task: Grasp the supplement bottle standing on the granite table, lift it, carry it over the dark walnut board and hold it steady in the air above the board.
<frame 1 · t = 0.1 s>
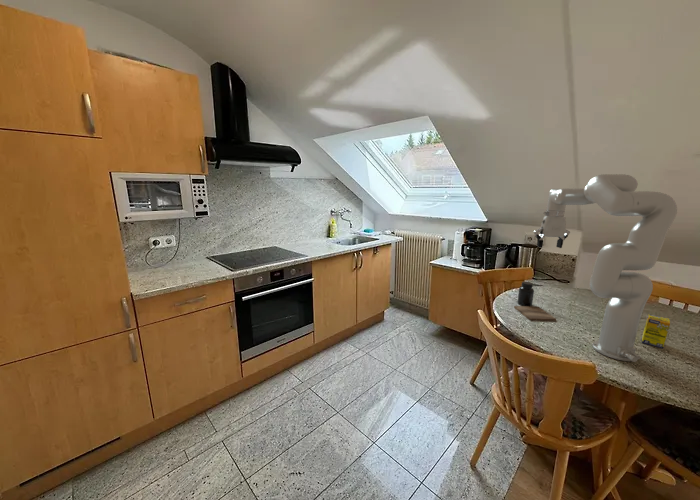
hand: (549, 247, 144), 31 cm above the table, tool pointing down, fingers open, 9 cm apart
walnut board: (533, 314, 139), on the table
supplement bottle: (524, 304, 150), on the table
supplement box: (652, 343, 113), on the table
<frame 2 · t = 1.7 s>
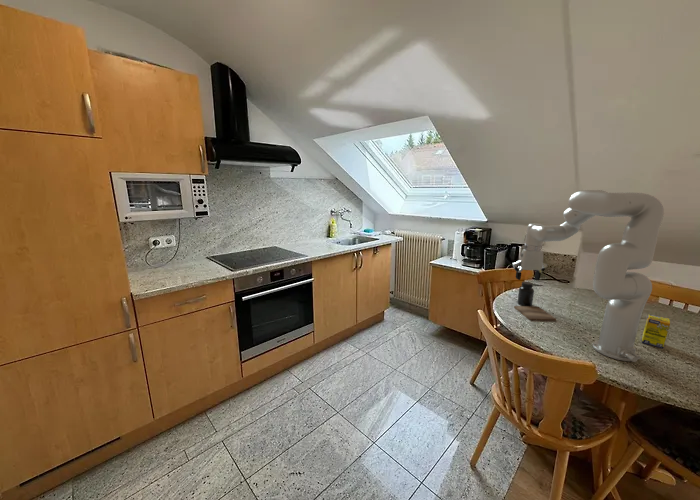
hand: (527, 279, 148), 14 cm above the table, tool pointing down, fingers open, 9 cm apart
nothing on the table moved.
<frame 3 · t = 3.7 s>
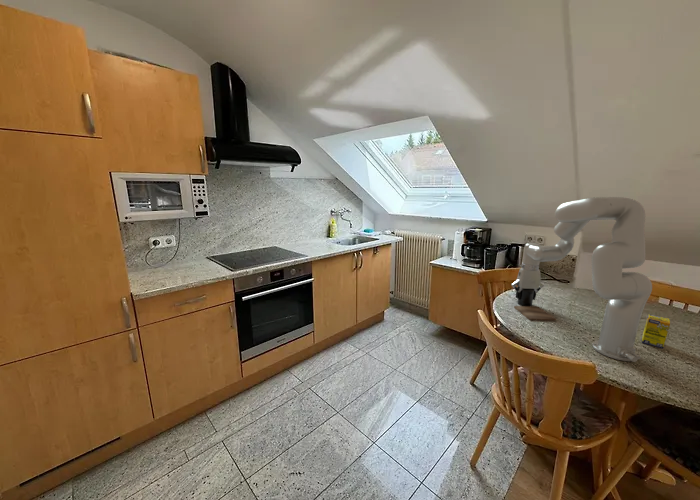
hand: (525, 298, 150), 3 cm above the table, tool pointing down, fingers closed on supplement bottle, 6 cm apart
supplement bottle: (524, 304, 150), on the table, touching gripper
everything else where it was.
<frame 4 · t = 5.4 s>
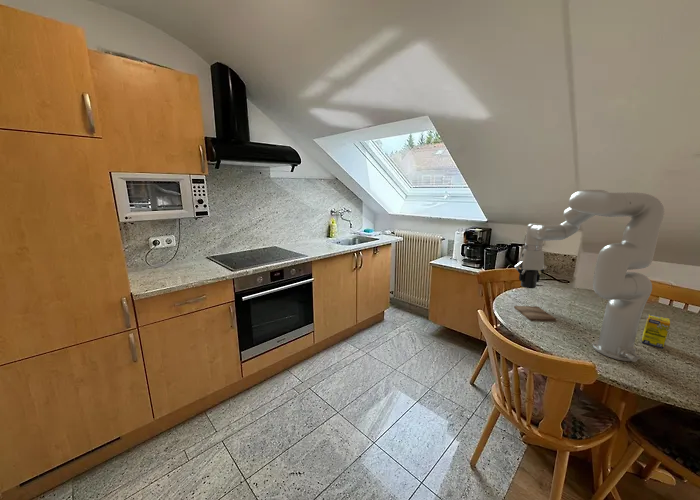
hand: (528, 280, 147), 13 cm above the table, tool pointing down, fingers closed on supplement bottle, 6 cm apart
supplement bottle: (527, 287, 148), point 10 cm above the table, touching gripper
everything else where it was.
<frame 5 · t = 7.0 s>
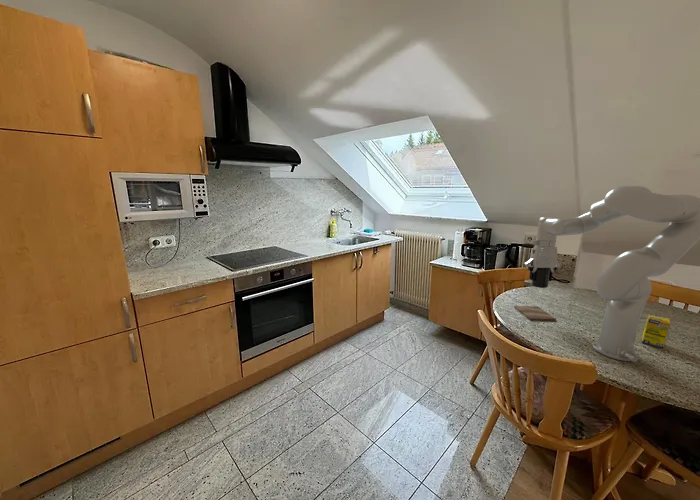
hand: (540, 279, 134), 18 cm above the table, tool pointing down, fingers closed on supplement bottle, 6 cm apart
supplement bottle: (539, 286, 135), point 15 cm above the table, touching gripper
everything else where it was.
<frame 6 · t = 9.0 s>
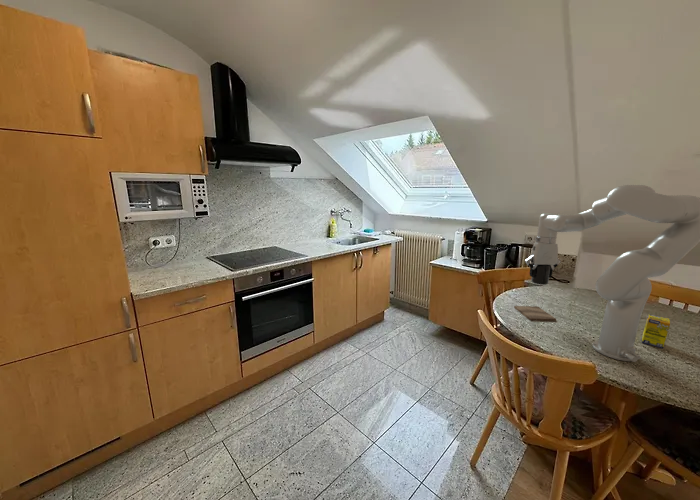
hand: (540, 276, 134), 20 cm above the table, tool pointing down, fingers closed on supplement bottle, 6 cm apart
supplement bottle: (539, 283, 135), point 16 cm above the table, touching gripper
everything else where it was.
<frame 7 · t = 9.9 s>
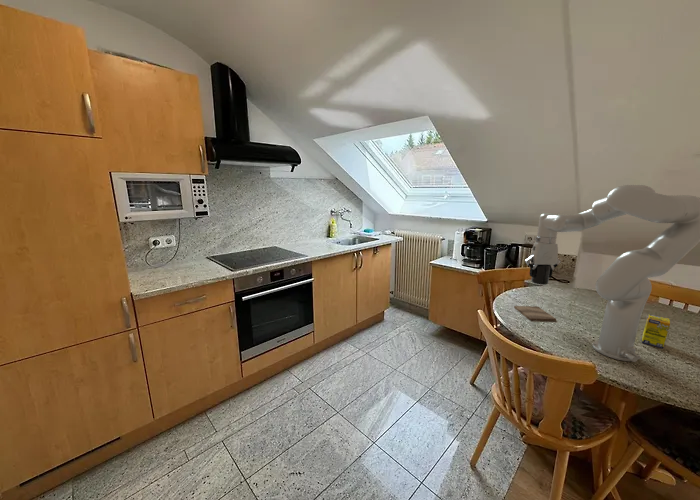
hand: (540, 276, 134), 20 cm above the table, tool pointing down, fingers closed on supplement bottle, 6 cm apart
supplement bottle: (539, 283, 135), point 16 cm above the table, touching gripper
everything else where it was.
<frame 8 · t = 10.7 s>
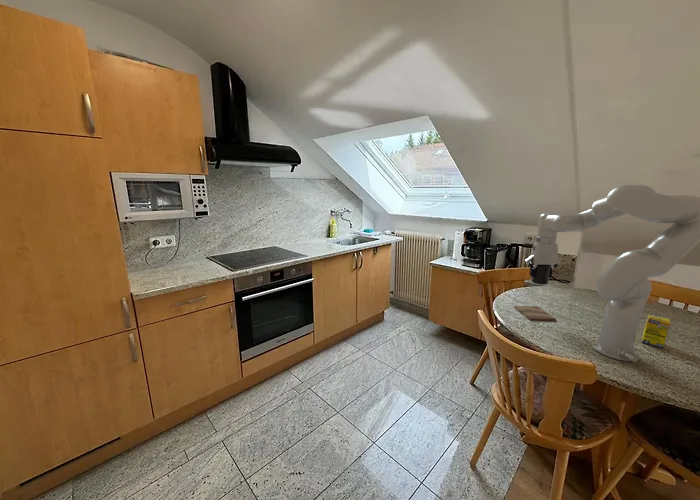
hand: (540, 276, 134), 20 cm above the table, tool pointing down, fingers closed on supplement bottle, 6 cm apart
supplement bottle: (539, 283, 135), point 16 cm above the table, touching gripper
everything else where it was.
at the end: the gripper is holding supplement bottle; supplement bottle point 16.2 cm above the table; supplement bottle 0.2 cm from the walnut board (horizontally) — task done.
